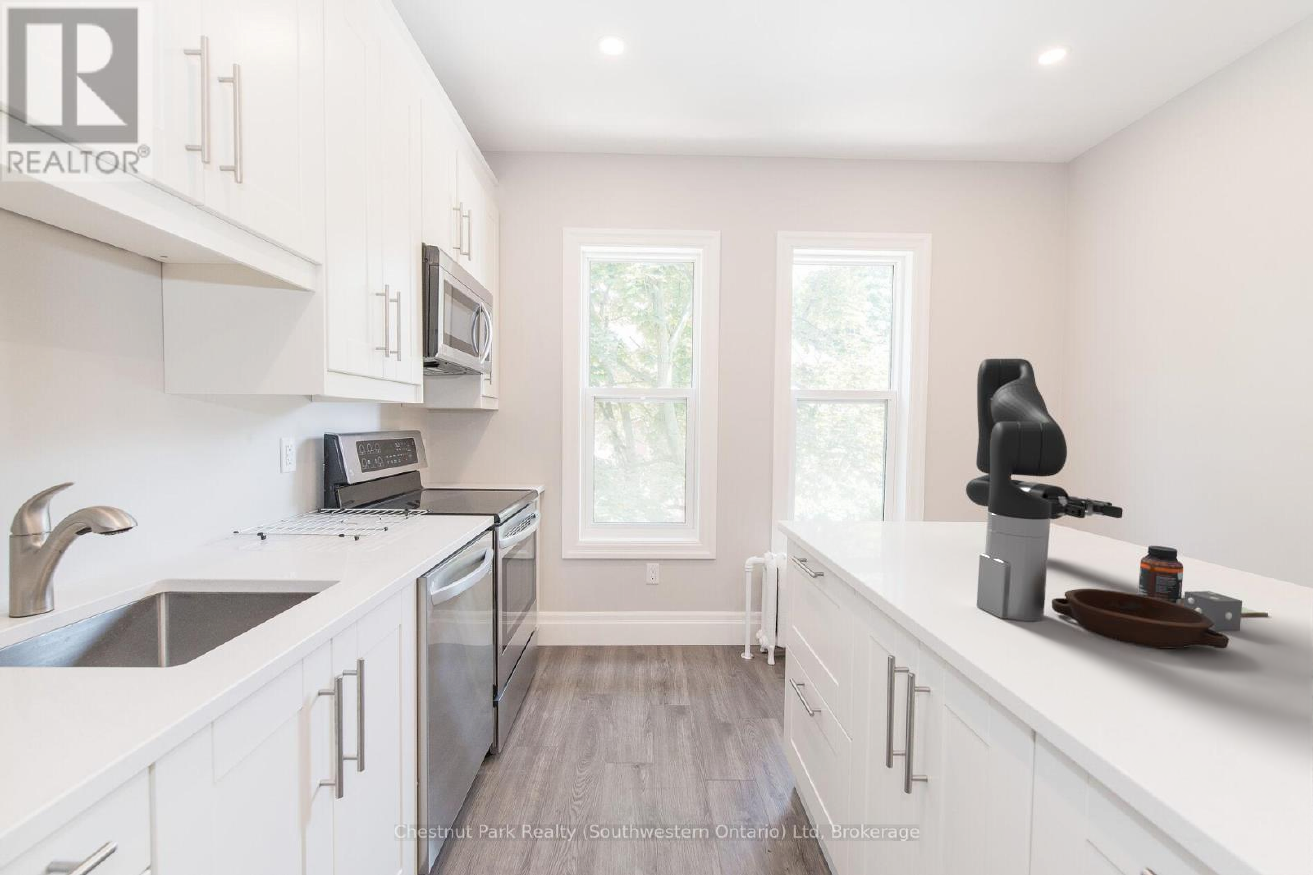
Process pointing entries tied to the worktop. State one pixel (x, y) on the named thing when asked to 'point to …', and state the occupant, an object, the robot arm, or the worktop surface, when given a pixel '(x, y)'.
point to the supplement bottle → (1161, 574)
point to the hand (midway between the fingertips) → (1102, 513)
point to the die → (1216, 609)
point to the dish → (1138, 619)
